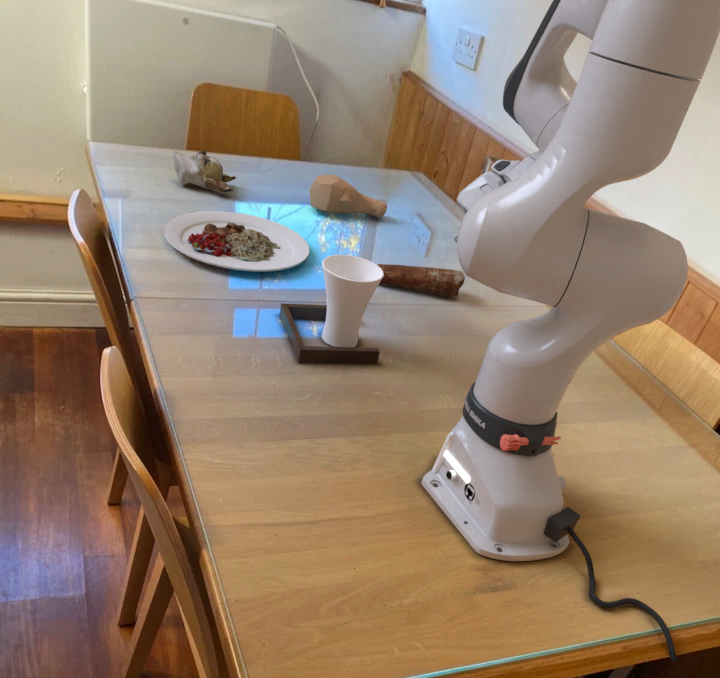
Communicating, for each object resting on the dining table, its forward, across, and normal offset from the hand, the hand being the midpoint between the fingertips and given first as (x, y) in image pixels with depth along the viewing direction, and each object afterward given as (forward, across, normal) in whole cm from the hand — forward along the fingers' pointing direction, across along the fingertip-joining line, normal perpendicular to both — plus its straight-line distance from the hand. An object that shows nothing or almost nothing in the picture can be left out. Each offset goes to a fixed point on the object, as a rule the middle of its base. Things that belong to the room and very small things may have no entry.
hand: (457, 243), depth 119 cm
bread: (+10, +22, -17) cm, 30 cm away
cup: (+26, 0, -1) cm, 26 cm away
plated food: (+35, +38, +8) cm, 52 cm away
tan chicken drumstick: (+13, +64, -14) cm, 67 cm away
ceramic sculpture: (+37, +73, +10) cm, 82 cm away
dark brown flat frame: (+27, 0, 0) cm, 27 cm away
